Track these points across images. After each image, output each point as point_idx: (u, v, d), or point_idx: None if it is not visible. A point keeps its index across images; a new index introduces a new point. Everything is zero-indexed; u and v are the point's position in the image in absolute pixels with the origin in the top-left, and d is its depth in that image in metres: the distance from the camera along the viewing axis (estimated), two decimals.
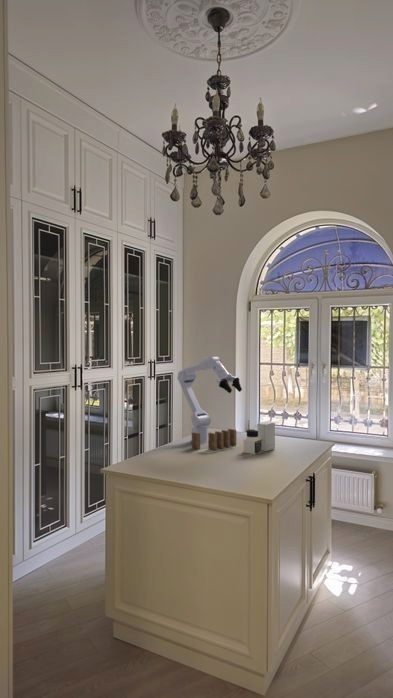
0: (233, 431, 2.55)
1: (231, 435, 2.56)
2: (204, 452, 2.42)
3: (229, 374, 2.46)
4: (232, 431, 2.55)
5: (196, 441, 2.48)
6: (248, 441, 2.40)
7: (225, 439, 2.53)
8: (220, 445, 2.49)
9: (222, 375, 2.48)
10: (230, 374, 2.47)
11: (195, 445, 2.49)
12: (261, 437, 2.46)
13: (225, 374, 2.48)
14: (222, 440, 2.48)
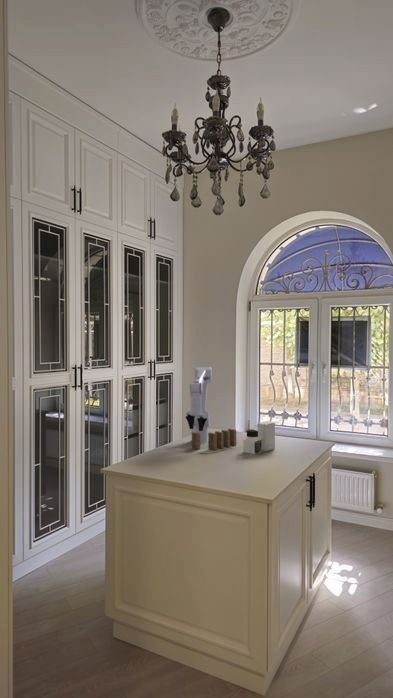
0: (233, 431, 2.55)
1: (231, 435, 2.56)
2: (204, 452, 2.42)
3: (189, 414, 2.47)
4: (232, 431, 2.55)
5: (196, 441, 2.48)
6: (248, 441, 2.40)
7: (225, 439, 2.53)
8: (220, 445, 2.49)
9: None
10: (190, 414, 2.46)
11: (195, 445, 2.49)
12: (261, 437, 2.46)
13: (191, 411, 2.49)
14: (222, 440, 2.48)
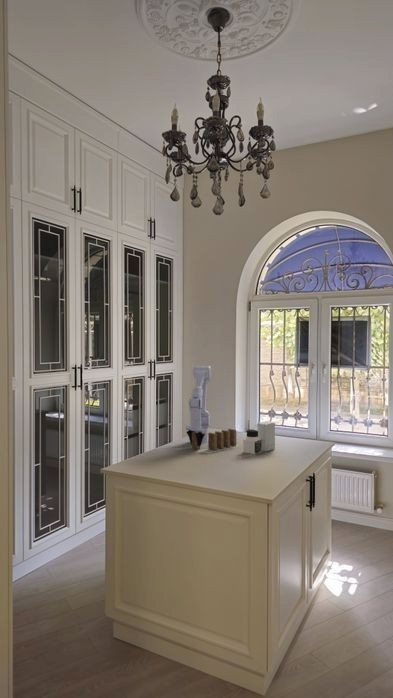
0: (233, 431, 2.55)
1: (231, 435, 2.56)
2: (204, 452, 2.42)
3: (189, 429, 2.48)
4: (232, 431, 2.55)
5: (196, 441, 2.48)
6: (248, 441, 2.40)
7: (225, 439, 2.53)
8: (220, 445, 2.49)
9: None
10: (190, 430, 2.47)
11: (195, 445, 2.49)
12: (261, 437, 2.46)
13: (190, 426, 2.49)
14: (222, 440, 2.48)
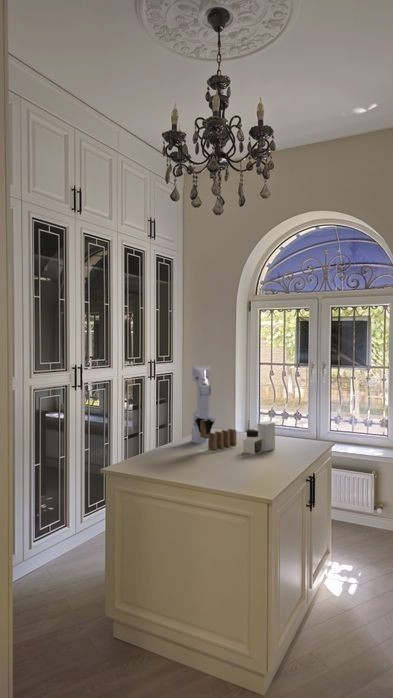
0: (233, 431, 2.55)
1: (231, 435, 2.56)
2: (204, 452, 2.42)
3: (198, 417, 2.42)
4: (232, 431, 2.55)
5: (205, 429, 2.42)
6: (248, 441, 2.40)
7: (225, 439, 2.53)
8: (220, 445, 2.49)
9: None
10: (198, 417, 2.41)
11: (204, 433, 2.43)
12: (261, 437, 2.46)
13: (199, 413, 2.43)
14: (222, 440, 2.48)
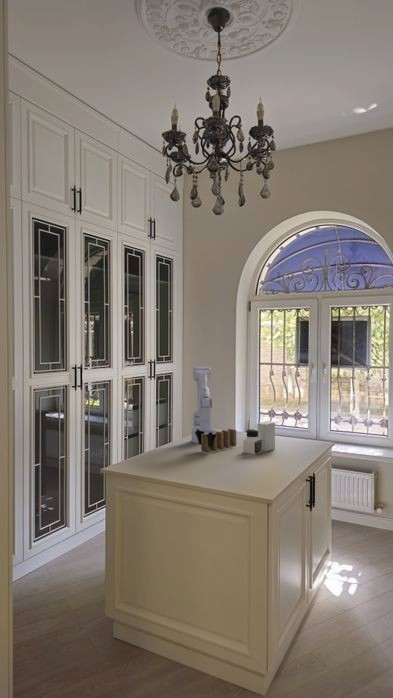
0: (233, 431, 2.55)
1: (231, 435, 2.56)
2: (204, 452, 2.42)
3: (199, 430, 2.41)
4: (232, 431, 2.55)
5: (206, 443, 2.42)
6: (248, 441, 2.40)
7: (225, 439, 2.53)
8: (220, 445, 2.49)
9: None
10: (199, 430, 2.41)
11: (205, 447, 2.43)
12: (261, 437, 2.46)
13: (200, 426, 2.43)
14: (222, 440, 2.48)
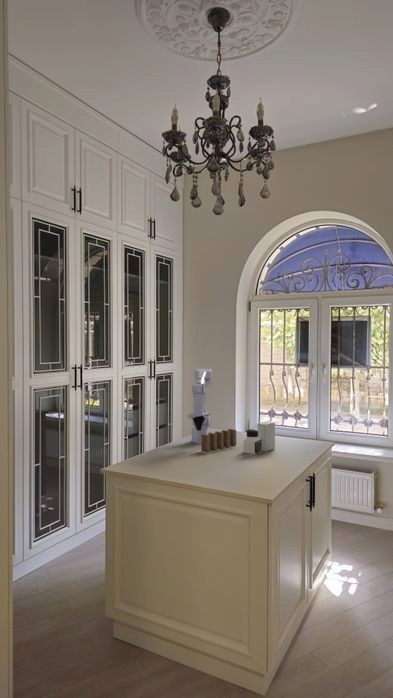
0: (233, 431, 2.55)
1: (231, 435, 2.56)
2: (204, 452, 2.42)
3: (202, 415, 2.48)
4: (232, 431, 2.55)
5: (206, 443, 2.42)
6: (248, 441, 2.40)
7: (225, 439, 2.53)
8: (220, 445, 2.49)
9: (196, 411, 2.49)
10: (203, 415, 2.49)
11: (205, 447, 2.43)
12: (261, 437, 2.46)
13: (199, 412, 2.49)
14: (222, 440, 2.48)
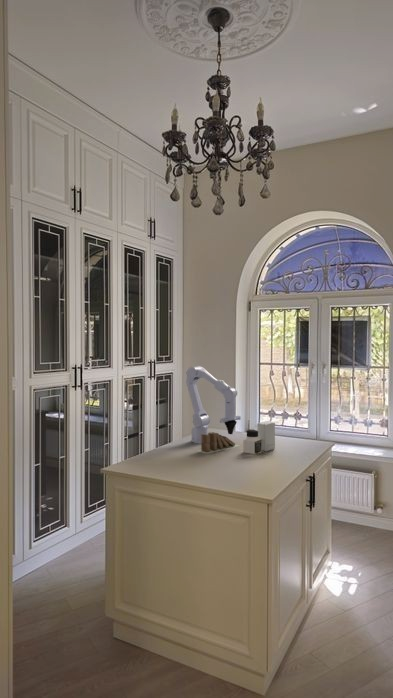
0: None
1: None
2: (204, 452, 2.42)
3: (234, 419, 2.52)
4: None
5: (206, 443, 2.42)
6: (248, 441, 2.40)
7: None
8: (219, 445, 2.48)
9: (228, 415, 2.53)
10: (235, 419, 2.53)
11: (205, 447, 2.43)
12: (261, 437, 2.46)
13: (231, 416, 2.53)
14: (219, 441, 2.47)
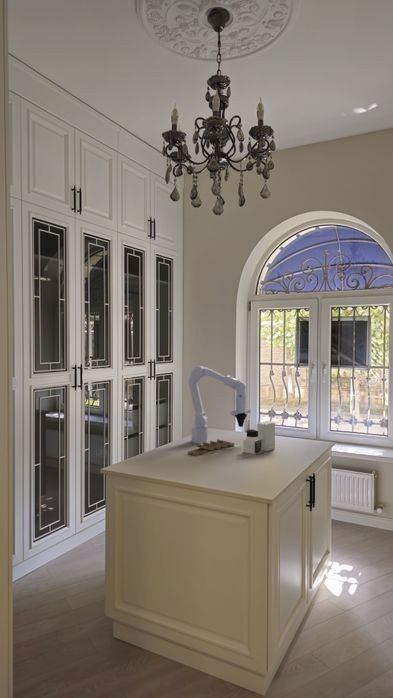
0: (223, 443, 2.50)
1: None
2: None
3: (245, 412, 2.58)
4: (222, 443, 2.50)
5: None
6: (248, 441, 2.40)
7: None
8: (217, 448, 2.47)
9: (239, 408, 2.58)
10: (245, 412, 2.58)
11: None
12: (261, 437, 2.46)
13: (242, 409, 2.58)
14: (214, 446, 2.45)
